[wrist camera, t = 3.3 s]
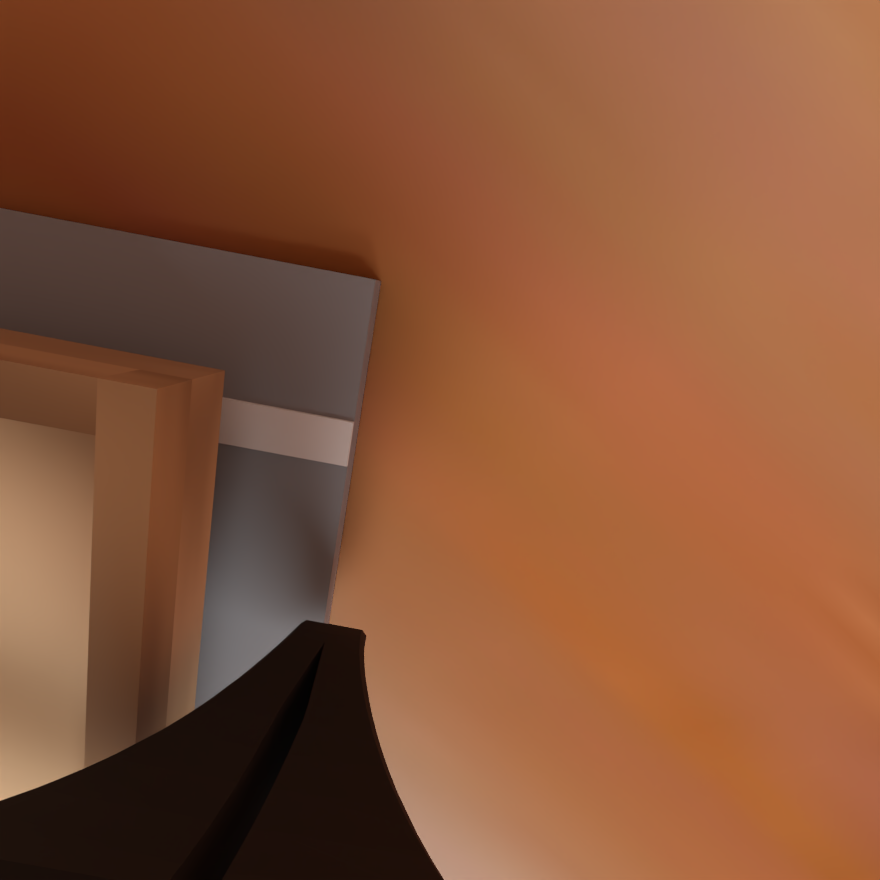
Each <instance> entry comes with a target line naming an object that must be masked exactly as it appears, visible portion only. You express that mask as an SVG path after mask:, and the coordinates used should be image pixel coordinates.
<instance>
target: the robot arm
mask: <svg viewBox="0 0 880 880" xmlns="http://www.w3.org/2000/svg"><path fill="white" fill-rule="evenodd" d="M365 640H366V635H365V633H364V632H363V631H362V630H359V629H354V628H348V627H343V626H337V625H332V624H326V623H321V622H316V621H310V620H305V621H304V622H302V623H300V624H299V625H298V626H297V627H296V628H295V629H294V630H293V631H292V632H291V633H290V634H289V635H288V636H287V637H286V638H285V639H284V640H283V641H282V642H281V643H279V644H278V645H277V646H276V647H275V648H274V649H273V650H272V651H271V652H269V653H268V654H267V655H266V656H265V657H263V658H262V659H261V660H260V661H259V662H258V663H256V664H255V665H254V666H253V667H252V668H250V669H249V670H248V671H247V672H245V673H244V674H243V675H242V676H240V677H239V678H238V679H236V680H235V681H234V682H232V683H231V684H230V685H228V686H227V687H226V688H224V689H223V690H222V691H220V692H219V693H218V694H216V695H215V696H214V697H212V698H211V699H209V700H208V701H206V702H205V703H204V704H202V705H201V706H199V707H198V708H196V709H195V710H193V711H192V712H190V713H188V714H187V715H185V716H184V717H182V718H180V719H179V720H177V721H176V722H174V723H172V724H171V725H169V726H167V727H166V728H164V729H162V730H160V731H159V732H157V733H155V734H153V735H151V736H149V737H147V738H145V739H143V740H142V741H140V742H138V743H136V744H134V745H132V746H130V747H128V748H126V749H124V750H122V751H120V752H119V753H117V754H115V755H112V756H110V757H108V758H106V759H104V760H102V761H99V762H97V763H95V764H93V765H91V766H88V767H86V768H84V769H82V770H79V771H77V772H74V773H72V774H70V775H67V776H65V777H62V778H60V779H58V780H55V781H53V782H50V783H48V784H45V785H43V786H40V787H37V788H35V789H32V790H29V791H26V792H24V793H21V794H18V795H15V796H12V797H9V798H6V799H4V800H1V801H0V880H444V879H443V878H442V876H441V874H440V873H439V871H438V870H437V868H436V866H435V865H434V863H433V861H432V860H431V858H430V856H429V854H428V853H427V851H426V849H425V847H424V845H423V844H422V842H421V840H420V838H419V836H418V835H417V833H416V831H415V829H414V826H413V824H412V822H411V820H410V818H409V816H408V814H407V812H406V810H405V808H404V806H403V803H402V801H401V799H400V797H399V795H398V793H397V790H396V788H395V785H394V783H393V780H392V778H391V775H390V773H389V770H388V767H387V764H386V762H385V759H384V756H383V753H382V750H381V747H380V743H379V740H378V736H377V733H376V729H375V725H374V721H373V717H372V713H371V708H370V703H369V697H368V691H367V685H366V678H365V668H364V646H365Z"/></svg>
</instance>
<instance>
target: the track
mask: <svg viewBox="0 0 880 880" xmlns="http://www.w3.org/2000/svg"><path fill="white" fill-rule="evenodd" d="M380 285H381V281H378V280H375V279H370V278H365V277H359V276H354V275H349V274H344V273H339V272H333V271H328V270H323V269H318V268H312V267H307V266H302V265H297V264H291V263H286V262H281V261H276V260H270V259H265V258H260V257H255V256H250V255H244V254H239V253H234V252H229V251H223V250H218V249H213V248H208V247H202V246H197V245H192V244H187V243H181V242H176V241H171V240H166V239H160V238H155V237H150V236H145V235H140V234H134V233H129V232H124V231H119V230H113V229H108V228H103V227H98V226H92V225H87V224H82V223H77V222H71V221H66V220H61V219H56V218H51V217H45V216H40V215H35V214H30V213H24V212H19V211H14V210H9V209H3V208H0V328H2V329H7V330H12V331H18V332H23V333H28V334H34V335H39V336H44V337H50V338H55V339H60V340H65V341H71V342H76V343H81V344H87V345H92V346H97V347H103V348H108V349H113V350H119V351H124V352H129V353H135V354H140V355H145V356H151V357H156V358H161V359H167V360H172V361H177V362H182V363H188V364H193V365H198V366H204V367H209V368H214V369H220V370H225V376H224V387H223V398H222V409H221V420H220V431H219V442H218V453H217V464H216V476H215V487H214V498H213V509H212V520H211V531H210V542H209V553H208V564H207V575H206V586H205V598H204V609H203V620H202V631H201V642H200V653H199V664H198V675H197V686H196V697H195V709H196V708H198V707H199V706H201V705H202V704H204V703H205V702H206V701H208V700H209V699H211V698H212V697H214V696H215V695H216V694H218V693H219V692H220V691H222V690H223V689H224V688H226V687H227V686H228V685H230V684H231V683H232V682H234V681H235V680H236V679H238V678H239V677H240V676H242V675H243V674H244V673H245V672H247V671H248V670H249V669H250V668H252V667H253V666H254V665H255V664H256V663H258V662H259V661H260V660H261V659H262V658H263V657H265V656H266V655H267V654H268V653H269V652H271V651H272V650H273V649H274V648H275V647H276V646H277V645H278V644H279V643H281V642H282V641H283V640H284V639H285V638H286V637H287V636H288V635H289V634H290V633H291V632H292V631H293V630H294V629H295V628H296V627H297V626H298V625H299V624H300V623H302V622H304V621H305V620H310V621H316V622H321V623H326V624H329V618H330V612H331V605H332V599H333V592H334V586H335V579H336V573H337V566H338V559H339V553H340V546H341V540H342V533H343V527H344V520H345V514H346V507H347V501H348V494H349V488H350V481H351V474H352V468H353V461H354V455H355V448H356V442H357V435H358V429H359V422H360V416H361V409H362V402H363V396H364V389H365V383H366V376H367V370H368V363H369V357H370V350H371V344H372V337H373V331H374V324H375V317H376V311H377V304H378V298H379V291H380ZM195 709H194V710H195Z"/></svg>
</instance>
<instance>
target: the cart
mask: <svg viewBox="0 0 880 880" xmlns="http://www.w3.org/2000/svg"><path fill="white" fill-rule="evenodd" d="M224 376H225V370H220V369H214V368H209V367H204V366H198V365H193V364H188V363H182V362H177V361H172V360H167V359H161V358H156V357H151V356H145V355H140V354H135V353H129V352H124V351H119V350H113V349H108V348H103V347H97V346H92V345H87V344H81V343H76V342H71V341H65V340H60V339H55V338H50V337H44V336H39V335H34V334H28V333H23V332H18V331H12V330H7V329H2V328H0V801H1V800H4V799H6V798H9V797H12V796H15V795H18V794H21V793H24V792H26V791H29V790H32V789H35V788H37V787H40V786H43V785H45V784H48V783H50V782H53V781H55V780H58V779H60V778H62V777H65V776H67V775H70V774H72V773H74V772H77V771H79V770H82V769H84V768H86V767H88V766H91V765H93V764H95V763H97V762H99V761H102V760H104V759H106V758H108V757H110V756H112V755H115V754H117V753H119V752H120V751H122V750H124V749H126V748H128V747H130V746H132V745H134V744H136V743H138V742H140V741H142V740H143V739H145V738H147V737H149V736H151V735H153V734H155V733H157V732H159V731H160V730H162V729H164V728H166V727H167V726H169V725H171V724H172V723H174V722H176V721H177V720H179V719H180V718H182V717H184V716H185V715H187V714H188V713H190V712H192V711H193V710H194V709H195V697H196V686H197V675H198V664H199V653H200V642H201V631H202V620H203V609H204V598H205V586H206V575H207V564H208V553H209V542H210V531H211V520H212V509H213V498H214V487H215V476H216V464H217V453H218V442H219V431H220V420H221V409H222V398H223V387H224Z"/></svg>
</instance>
